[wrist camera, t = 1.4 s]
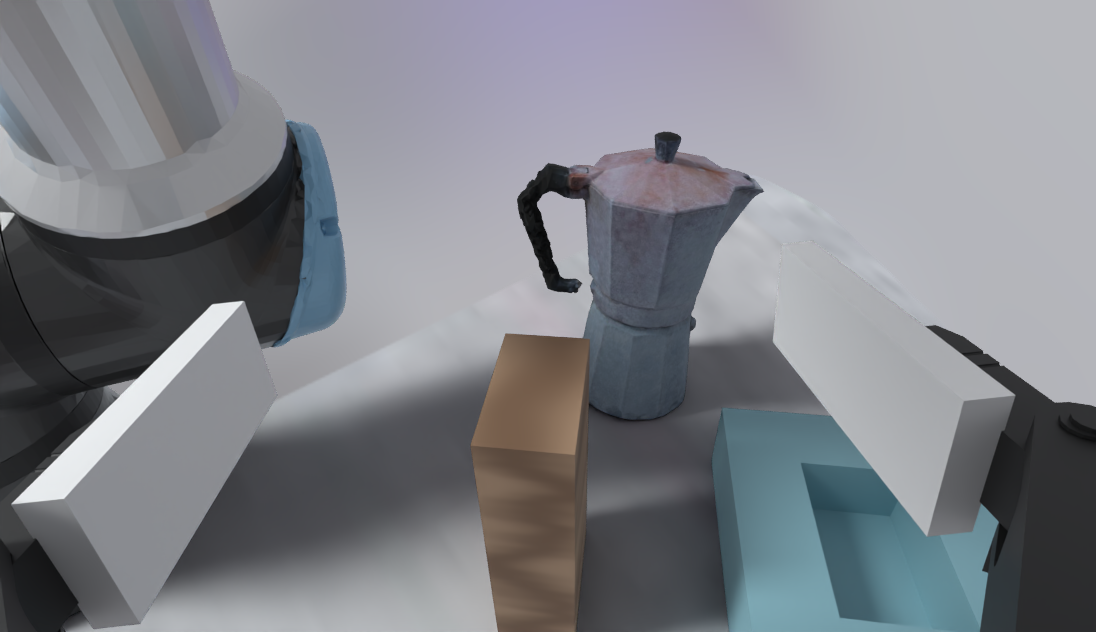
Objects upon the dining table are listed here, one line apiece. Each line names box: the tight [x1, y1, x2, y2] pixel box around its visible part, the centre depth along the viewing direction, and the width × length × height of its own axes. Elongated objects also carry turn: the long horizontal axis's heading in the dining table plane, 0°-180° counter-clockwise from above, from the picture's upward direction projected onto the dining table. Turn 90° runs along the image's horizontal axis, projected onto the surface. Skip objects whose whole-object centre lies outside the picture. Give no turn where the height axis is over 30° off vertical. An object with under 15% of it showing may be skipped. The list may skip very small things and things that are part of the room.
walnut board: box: [470, 334, 590, 632], centre depth 30 cm, size 4×7×15 cm, turn 172°
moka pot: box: [517, 132, 764, 420], centre depth 42 cm, size 10×15×20 cm, turn 94°
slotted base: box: [711, 408, 999, 632], centre depth 32 cm, size 14×17×5 cm
